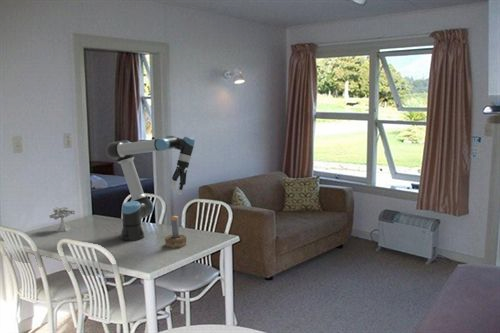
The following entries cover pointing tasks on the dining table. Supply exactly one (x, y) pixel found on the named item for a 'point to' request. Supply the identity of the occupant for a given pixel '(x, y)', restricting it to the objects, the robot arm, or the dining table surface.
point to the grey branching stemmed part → (62, 214)
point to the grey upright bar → (175, 227)
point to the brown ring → (175, 241)
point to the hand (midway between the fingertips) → (175, 192)
